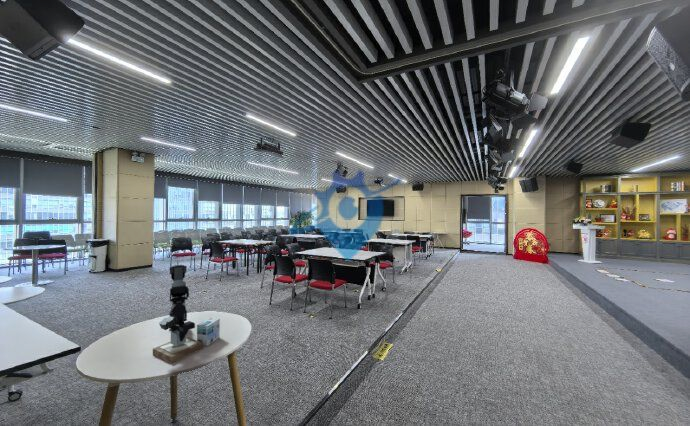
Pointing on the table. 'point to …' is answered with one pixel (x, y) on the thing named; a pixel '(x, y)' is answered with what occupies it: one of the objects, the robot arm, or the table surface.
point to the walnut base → (177, 350)
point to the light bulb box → (208, 331)
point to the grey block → (176, 338)
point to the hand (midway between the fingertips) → (178, 339)
